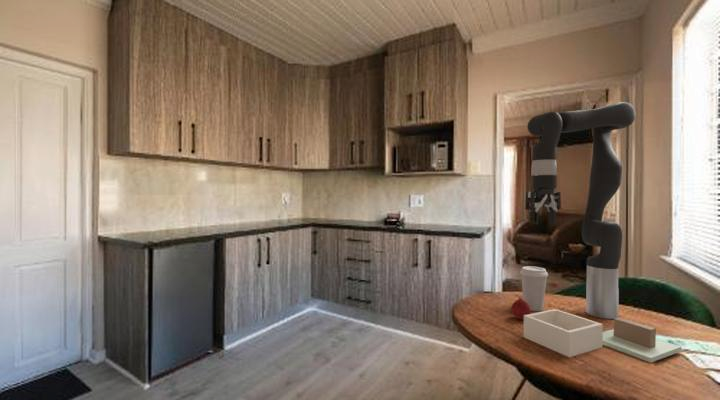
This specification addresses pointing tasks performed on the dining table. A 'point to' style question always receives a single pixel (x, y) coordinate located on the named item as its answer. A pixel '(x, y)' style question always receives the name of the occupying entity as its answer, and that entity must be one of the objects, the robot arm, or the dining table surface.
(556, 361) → the dining table surface
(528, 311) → the onion
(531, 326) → the box
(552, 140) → the robot arm
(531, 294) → the coffee cup
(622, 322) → the lid
